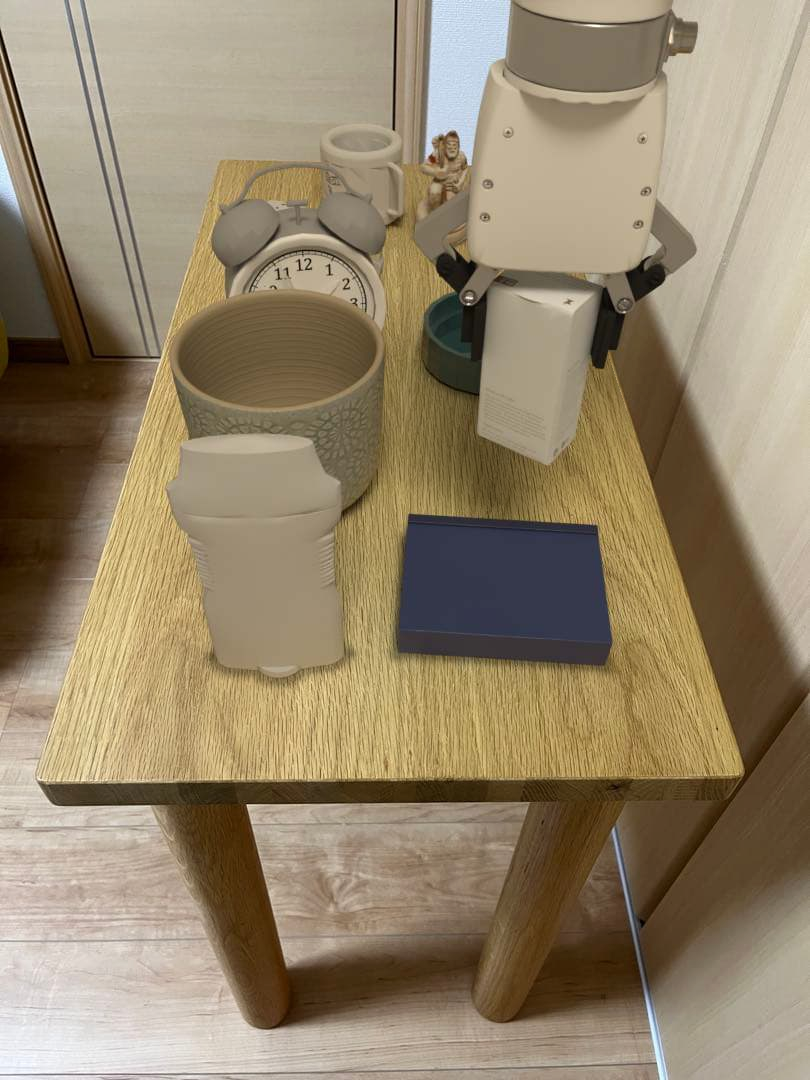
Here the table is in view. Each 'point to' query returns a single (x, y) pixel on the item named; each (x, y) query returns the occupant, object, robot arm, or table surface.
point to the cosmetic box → (536, 360)
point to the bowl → (449, 345)
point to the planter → (287, 376)
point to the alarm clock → (304, 245)
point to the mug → (365, 165)
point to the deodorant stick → (263, 548)
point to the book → (504, 590)
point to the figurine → (444, 179)
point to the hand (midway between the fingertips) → (536, 351)
